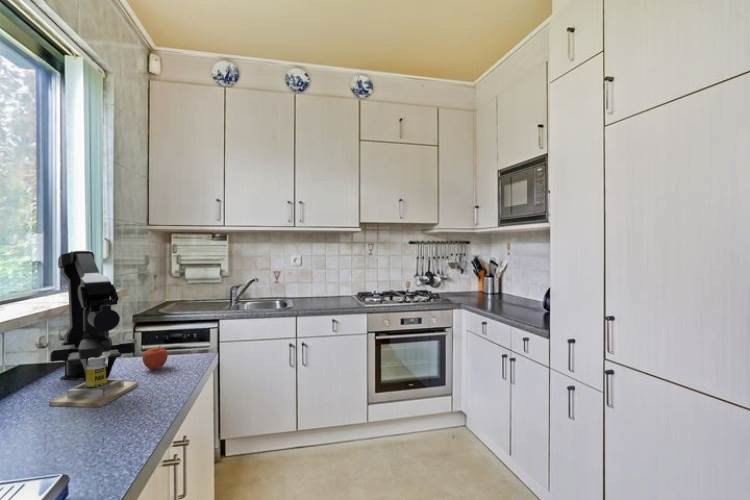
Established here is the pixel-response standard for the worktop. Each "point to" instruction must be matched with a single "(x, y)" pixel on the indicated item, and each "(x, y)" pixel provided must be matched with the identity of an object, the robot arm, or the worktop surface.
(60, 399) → the carrier plate
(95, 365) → the supplement bottle
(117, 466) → the worktop surface
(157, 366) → the apple
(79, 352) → the robot arm
